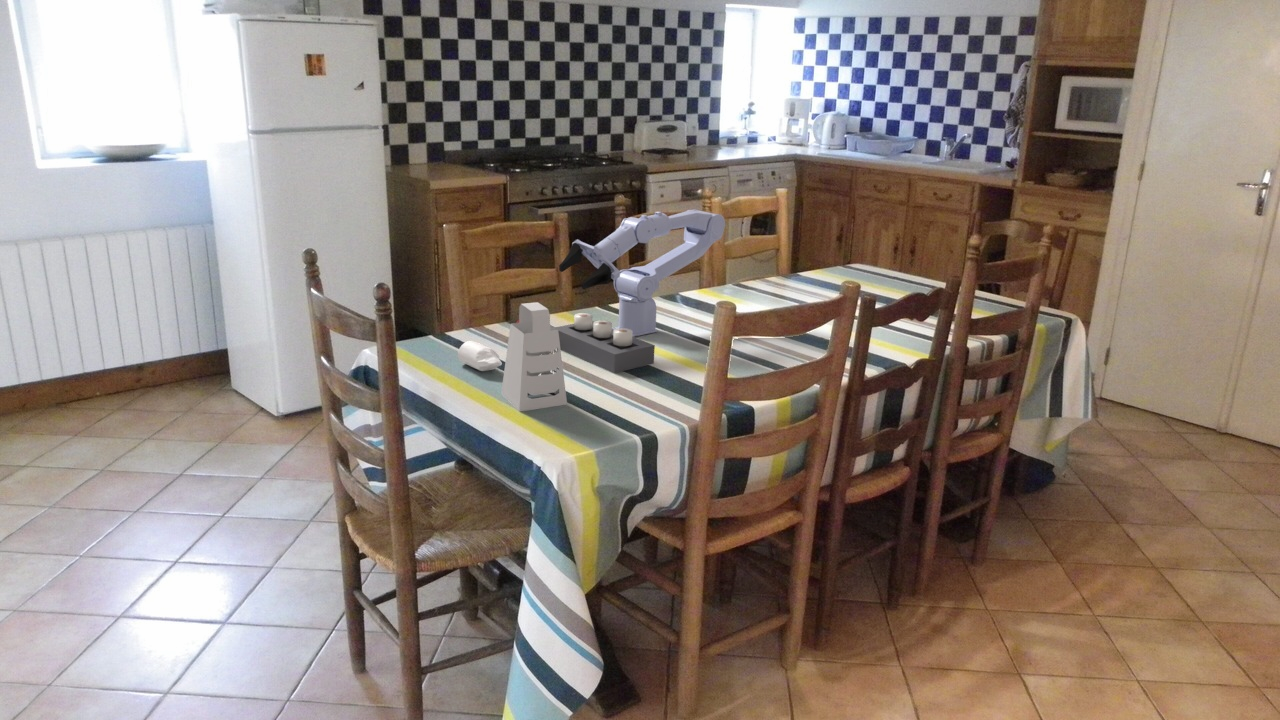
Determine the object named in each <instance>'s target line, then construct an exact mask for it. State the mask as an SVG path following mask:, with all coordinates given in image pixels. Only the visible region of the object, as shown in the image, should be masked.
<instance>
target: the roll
mask: <svg viewBox="0 0 1280 720" xmlns="http://www.w3.org/2000/svg"><path fill="white" fill-rule="evenodd" d="M457 356H458V360H459V361H460V362H461V363H463V364H464V365H467V366H469V367H471V368H473V369H476V370H477V371H480V372H488V371H493V370H495V369H497V368H498V367H500V366H502V365H503V363H502V361H501V360H500V356H499V354H498V353H497V351H495V350H494V349H493V348H491V347H488V346H486V345H484V344H483V343H479V342H476V341H474V340H468V341H465V342H464V343H462V344H461V346H460V347H459V349H458V353H457Z"/></svg>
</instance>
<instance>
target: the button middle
mask: <svg viewBox="0 0 1280 720" xmlns="http://www.w3.org/2000/svg"><path fill="white" fill-rule="evenodd" d="M612 328H613V322H611V321H608V320H595V321H594V323H593V336H595V337H598V338H609V337H611V336H612Z"/></svg>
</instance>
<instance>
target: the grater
mask: <svg viewBox="0 0 1280 720" xmlns="http://www.w3.org/2000/svg"><path fill="white" fill-rule="evenodd" d="M518 315H519V316H518V317H519V318H518V319H519V323H516V322H515V323H514V322H513V323H510V326H509V333H508V340H507V349H506V357H505V363H504V371H503V378H502V384H501V391H500V393H501V396H502V397H503V398H504V399H505V400H506V401H508V403H510V404H511V405H512V406H513V407H514V408H515V409H516V410H517V411H518V412H526V411H532V410H537V409H539V410H540V409H546V408H553V407H559V406H566V405H568V399H567V391H566V384H565V376H564V366H563V358H562V350H561V349H560V341H559V332H558V330H557V329H556V328H555V326H553V325H552V324H551V315H550V311H549V308H547V307H546V306H544V305H542V304H541V303H539V302H538V301H537V302H527V303H525V302H524V303H520V305H519V308H518ZM551 393H552V394H554V395H549V396H542V397H541V396H540V397H536V398H531V397H528V396H529V395H531V396H537V395H544V394H551ZM528 394H529V395H528Z"/></svg>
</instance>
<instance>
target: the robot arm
mask: <svg viewBox="0 0 1280 720" xmlns="http://www.w3.org/2000/svg"><path fill="white" fill-rule="evenodd" d="M683 228H684V232H683V241H684V243H682V244H680V245H678V246H676V247H675V248H672V250H670V251H668V252H666V253H665V254H663V255H660V256H659V257H657V258H655V259H654V260H652V261H651V262H649V263H647V264H645V265H641V266H632V267H630V268H629V269H625V268H624V269H623V268H622V269H620V270H619V269H618V268H617V267H616V266H615V265H614V264H613V263H614V262H615V261H616V260H617V259H618V258H620V257H621V256H623V255H625V253H627V252H629V250H631V249H632V248H633V247H635V246H636V245H638V243H640V244H648V243H649V242H650V241H651V240H652V239H655V238H659V237H664V236H667V235H668V234H669V233H670V232H671V230H676V229H683ZM725 228H726V220H725V217H724V216H723V215H722V214H720V213H712V212H708V211H702V210H699V209H696V208H694V209H687V210H686V211H683V212H679V213H676V214H675V213H674V214H671V215H669V216H668V215H667V214H666V213H663V212H662V211H654V214H651V215H646V214H642V215H640V217H639V218H637V217H634V216H630V217H628V218H626V217H625V218H623V219H622V222H621V223H620V225H619V227H617V228H616V230H614V231H613V232H612V233H611V234H609V235H608V236H606V237H605V238H603V239H602V240H601V241H599V242H598V243H596V244H595V245H590V244H588V243H586V242H583V241H581V240H580V239H575V240H574V241H573V242H572V243H571V248H570V249H569V252H567V255H566V256H565V258H564V259H563V261H561V263H560V264H559V266H558V267H559V268H558V271H559V272H560V273H562V272H564V271H567V269H568V268H571V267H572V266H574V265H576V264H580V263H582V258H583V256H584V257H585V258H587V260H588V261H589V262H590V263H591V264H592V265H593V266H594V267H595V268H596V270H595V271H594V272H593V273H592V274H591V275H589V276H588V277H586V278H585V279H584V280H583V281H582V282H581V289H583V290H586V289H589V288H591V287H595V286H599V285H608V284H610V280H611V279H612V280H613V288H614V290H615V292H616V293H617V297H618V298H619V303H618V306H619V307H618V326H615V327H612V329H614V330H615V329H618V328H626V329H630V330H632V331H633V333H632V337H635V338H636V337H639V336H644V335H647V334H648V335H649V334H652V333H657V332H658V329H656V327H657V326H656V324H657V304H656V301H655V300H654V298H653V297H652V296H653V294H655V292H656V291H658V290H659V289H660V282H661V281H663V280H664V279H666V278H668V277H670V276H672V275H673V274H675V273H676V272H678V271H680V270H681V269H683V268H685V267H687V266H688V265H690V264H691V263H694V262H695V261H697V260H698V259H700V258H701V257H703V256H704V255H705V254H706V253H707V251H708V250H709V249H710V248H711V246H712V245H713V244H714V243H715V242H717V241H720V240H721V239H722V237H723V235H724V231H725Z"/></svg>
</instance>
